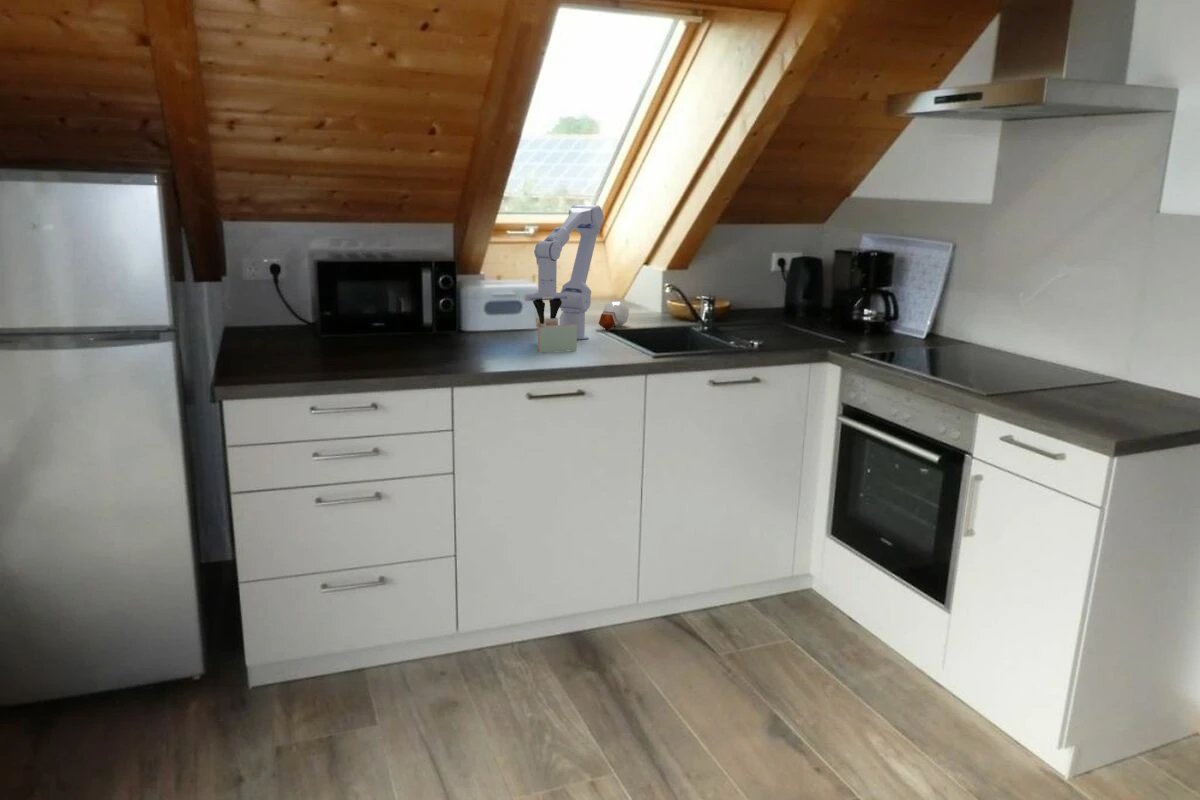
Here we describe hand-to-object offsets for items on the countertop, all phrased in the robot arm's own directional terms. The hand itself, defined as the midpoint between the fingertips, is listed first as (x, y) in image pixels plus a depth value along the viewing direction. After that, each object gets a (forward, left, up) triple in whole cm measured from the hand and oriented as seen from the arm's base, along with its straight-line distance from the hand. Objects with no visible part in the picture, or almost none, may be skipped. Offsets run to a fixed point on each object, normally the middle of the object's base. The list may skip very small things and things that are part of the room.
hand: (547, 322), depth 278 cm
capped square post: (-2, 0, -2) cm, 2 cm away
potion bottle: (-24, +34, -8) cm, 42 cm away
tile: (+9, 0, -7) cm, 12 cm away
